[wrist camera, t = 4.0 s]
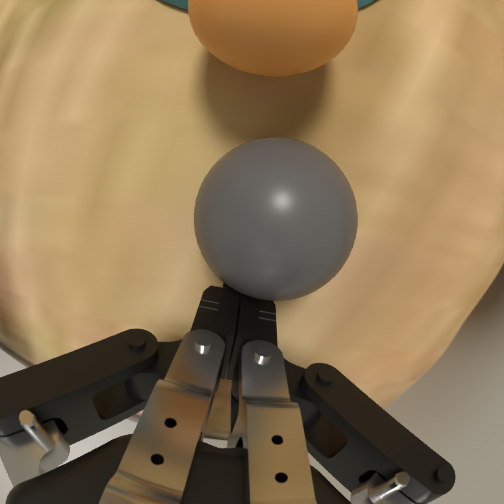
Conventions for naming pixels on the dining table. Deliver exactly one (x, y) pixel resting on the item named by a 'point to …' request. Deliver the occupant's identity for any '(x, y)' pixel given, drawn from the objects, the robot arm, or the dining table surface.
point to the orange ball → (274, 32)
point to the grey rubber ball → (275, 219)
